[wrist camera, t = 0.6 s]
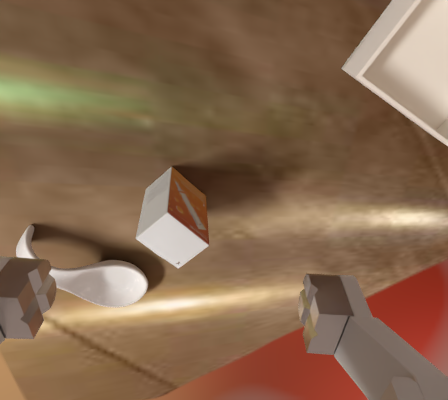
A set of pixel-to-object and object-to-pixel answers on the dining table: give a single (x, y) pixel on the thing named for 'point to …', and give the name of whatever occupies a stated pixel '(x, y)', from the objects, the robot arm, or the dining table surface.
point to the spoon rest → (94, 278)
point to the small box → (174, 219)
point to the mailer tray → (408, 62)
